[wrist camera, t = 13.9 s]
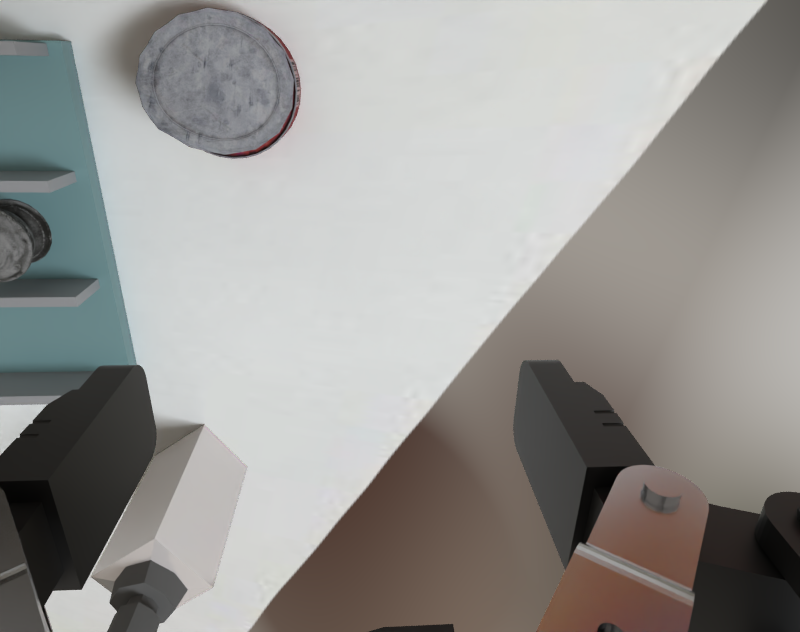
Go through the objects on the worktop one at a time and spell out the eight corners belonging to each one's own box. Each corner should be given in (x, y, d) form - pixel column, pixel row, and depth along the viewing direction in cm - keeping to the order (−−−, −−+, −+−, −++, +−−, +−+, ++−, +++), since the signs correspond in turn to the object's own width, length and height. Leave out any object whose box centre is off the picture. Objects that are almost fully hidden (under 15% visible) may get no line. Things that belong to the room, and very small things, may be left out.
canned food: (184, 64, 46) (101, -9, 36) (299, 29, 44) (245, -57, 34) (209, 197, 45) (132, 160, 35) (327, 166, 43) (280, 118, 34)
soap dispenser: (137, 466, 56) (12, 689, 36) (204, 424, 54) (113, 632, 34) (181, 506, 58) (88, 735, 38) (247, 466, 57) (185, 684, 37)
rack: (-119, 37, 39) (-189, 33, 34) (70, 41, 40) (29, 38, 35) (-8, 374, 51) (-49, 408, 46) (137, 371, 52) (113, 404, 47)
